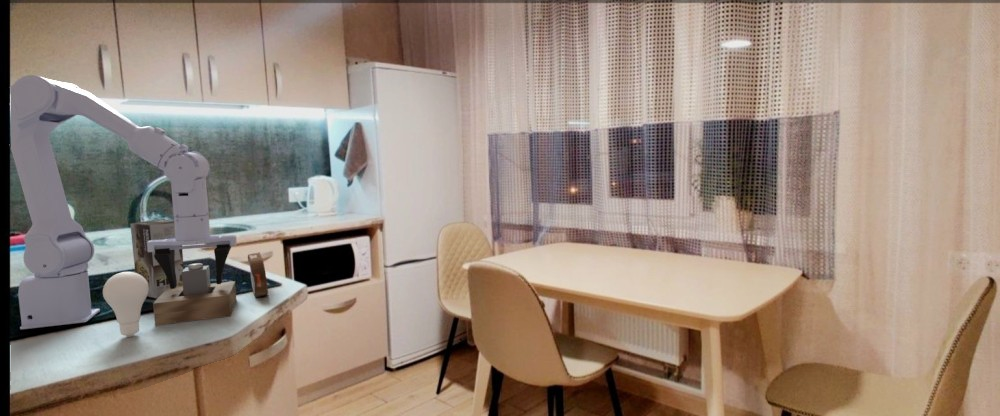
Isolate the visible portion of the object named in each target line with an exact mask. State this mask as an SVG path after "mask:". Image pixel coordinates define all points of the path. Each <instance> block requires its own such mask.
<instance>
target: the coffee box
mask: <svg viewBox="0 0 1000 416" xmlns="http://www.w3.org/2000/svg"><path fill="white" fill-rule="evenodd" d="M130 234H131V244H132V253H133V255H132V256H133V263H134V273H137V274H140V275H141V276H143V277H144V278H145V279H146V281H147V283H148V287H149V290H148V294H147V296H146V297H149V298H153V299H158V298H159V297H160V296H161V294H162V293H163V292H164V291H165V290H166V289H167V288H170V285H169V282H168V279H167V277H166V275H165V273H164V271H163V269H162V268H161V266H160V265H159V263H158V262H157V261H156V259H155V258H154V255H155V252H148V248H147V242H148V241H151V240H163V239H173V238H175V227H174V220H169V219H168V220H166V219H155V220H145V221H140V222H133V223H132V222H130ZM184 266H185V265H184V254H183V249H178V250H175V273H176V280H177V286H176V287H182V286H183V282H182V271H183V270H184V269H185V267H184Z"/></svg>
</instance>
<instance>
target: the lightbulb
mask: <svg viewBox="0 0 1000 416" xmlns="http://www.w3.org/2000/svg"><path fill="white" fill-rule="evenodd" d="M148 290H149V287H148V283H147V281H146V279H145V278H144V277H143V276H141V275H140V274H137V273H135V271H122V272H119V273H116V274H114V275H112V276H111V277H109V278H108V279H107V280H106V281H105V284H104V285H103V288H102V296H103V299H104V300H105V302H106V303H107V304H108V305H109V306H110V308H111V309H112V311H113V313H114V315H115V317H116V322H117V323H118V326H119V332H120V335H122V336H125V337H127V338H131V337H134V336H135V335H136V334H137V333H139V331H140V320H141V312H142V307H143V304H144V302H145V300H146V299H147V297H148V296H147V294H148Z"/></svg>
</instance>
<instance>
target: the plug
mask: <svg viewBox="0 0 1000 416" xmlns="http://www.w3.org/2000/svg"><path fill="white" fill-rule="evenodd" d="M182 282H183V294H184V296H190V295H200V294H209V293H211V285H210V284H211V273H210V265H203V263H200V262H198V263H196V262H195V263H191V264H188V265H187V267H184V270H183V271H182Z"/></svg>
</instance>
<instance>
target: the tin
mask: <svg viewBox="0 0 1000 416" xmlns="http://www.w3.org/2000/svg"><path fill="white" fill-rule="evenodd" d="M247 262H248V265H249V269H250V282H251V288H252V291H253V292H252V293H253V294H254V295H253V296H254V297H255V298H259V297H265V296H268V295H269V289H268V280H267V273H266V268H265V263H264V259H263V257H262V254H261V252H256V253H255V252H254V253H250V254H249V253H248V255H247Z"/></svg>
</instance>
